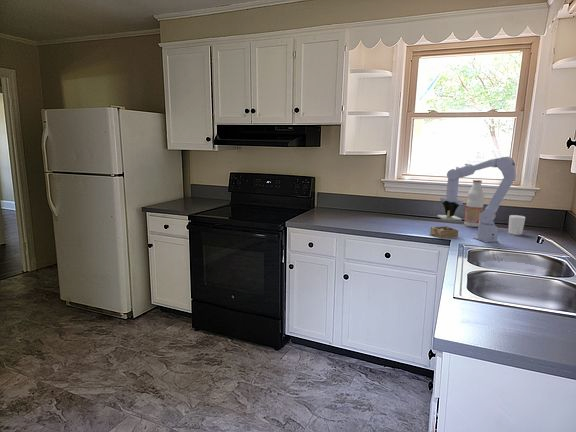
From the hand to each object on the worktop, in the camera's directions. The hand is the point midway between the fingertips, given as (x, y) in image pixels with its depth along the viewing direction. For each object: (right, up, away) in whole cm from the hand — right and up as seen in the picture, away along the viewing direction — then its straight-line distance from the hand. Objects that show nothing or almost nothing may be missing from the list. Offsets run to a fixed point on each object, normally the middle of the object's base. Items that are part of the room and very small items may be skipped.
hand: (449, 215), depth 221 cm
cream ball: (-5, -9, -2) cm, 10 cm away
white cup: (+40, -11, +6) cm, 41 cm away
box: (-4, -11, -3) cm, 12 cm away
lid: (0, -2, 0) cm, 2 cm away
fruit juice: (+24, -6, +25) cm, 36 cm away
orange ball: (-4, -9, -5) cm, 11 cm away
